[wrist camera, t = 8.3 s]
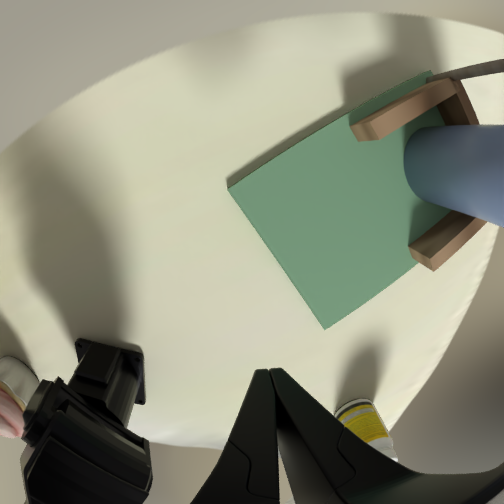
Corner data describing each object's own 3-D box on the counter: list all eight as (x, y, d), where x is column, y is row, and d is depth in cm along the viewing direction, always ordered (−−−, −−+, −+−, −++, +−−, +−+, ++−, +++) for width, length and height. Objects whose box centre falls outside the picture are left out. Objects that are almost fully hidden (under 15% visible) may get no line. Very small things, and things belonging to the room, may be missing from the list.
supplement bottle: (325, 416, 26) (347, 478, 18) (360, 391, 25) (392, 451, 17) (346, 428, 28) (368, 483, 20) (379, 406, 27) (407, 459, 19)
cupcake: (27, 406, 24) (-2, 458, 14) (-16, 349, 21) (-56, 397, 11) (68, 403, 24) (38, 468, 14) (18, 338, 21) (-31, 397, 11)
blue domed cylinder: (448, 210, 19) (574, 262, 7) (396, 190, 19) (547, 241, 6) (461, 143, 18) (589, 160, 5) (410, 115, 17) (559, 106, 5)
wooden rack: (412, 257, 20) (498, 316, 11) (346, 121, 17) (446, 99, 7) (490, 188, 19) (571, 212, 10) (443, 69, 16) (532, 49, 6)
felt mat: (322, 326, 22) (324, 330, 22) (227, 188, 18) (227, 189, 18) (479, 203, 20) (483, 204, 20) (426, 71, 16) (430, 70, 16)
